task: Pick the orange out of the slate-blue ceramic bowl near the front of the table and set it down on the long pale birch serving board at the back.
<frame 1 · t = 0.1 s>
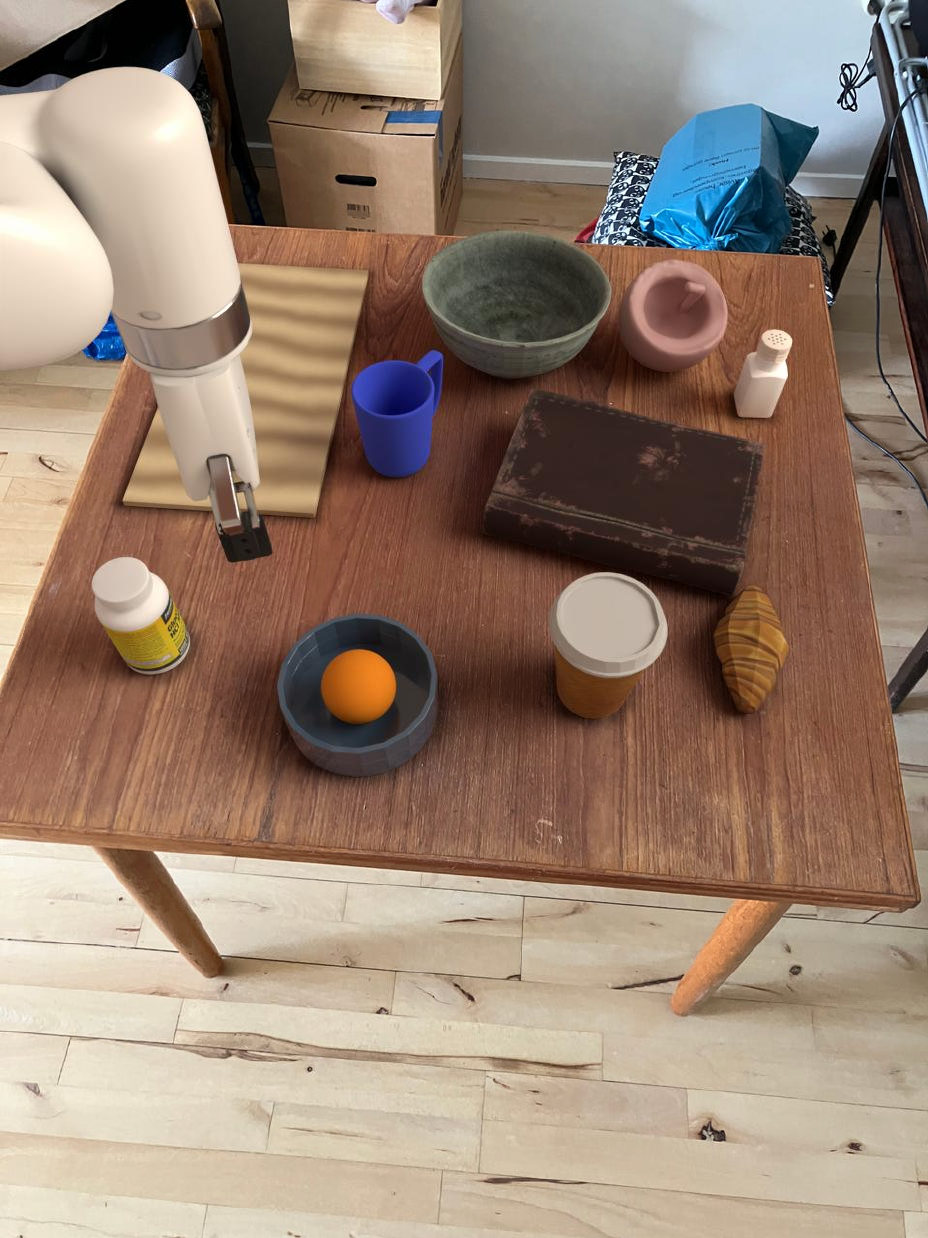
hand: (243, 505, 66), 20 cm above the table, tool pointing down, fingers open, 9 cm apart
diary: (621, 504, 92), on the table
croissant: (744, 655, 82), on the table
mug: (408, 448, 96), on the table
salt shaker: (751, 408, 100), on the table
bowl: (511, 354, 104), on the table
serving board: (259, 378, 102), on the table
disposable coffee cup: (591, 688, 80), on the table
mortar and pestle: (661, 359, 104), on the table
fruit bowl: (362, 706, 79), on the table
orange: (358, 686, 75), point 4 cm above the table, touching fruit bowl
pill bottle: (158, 649, 82), on the table
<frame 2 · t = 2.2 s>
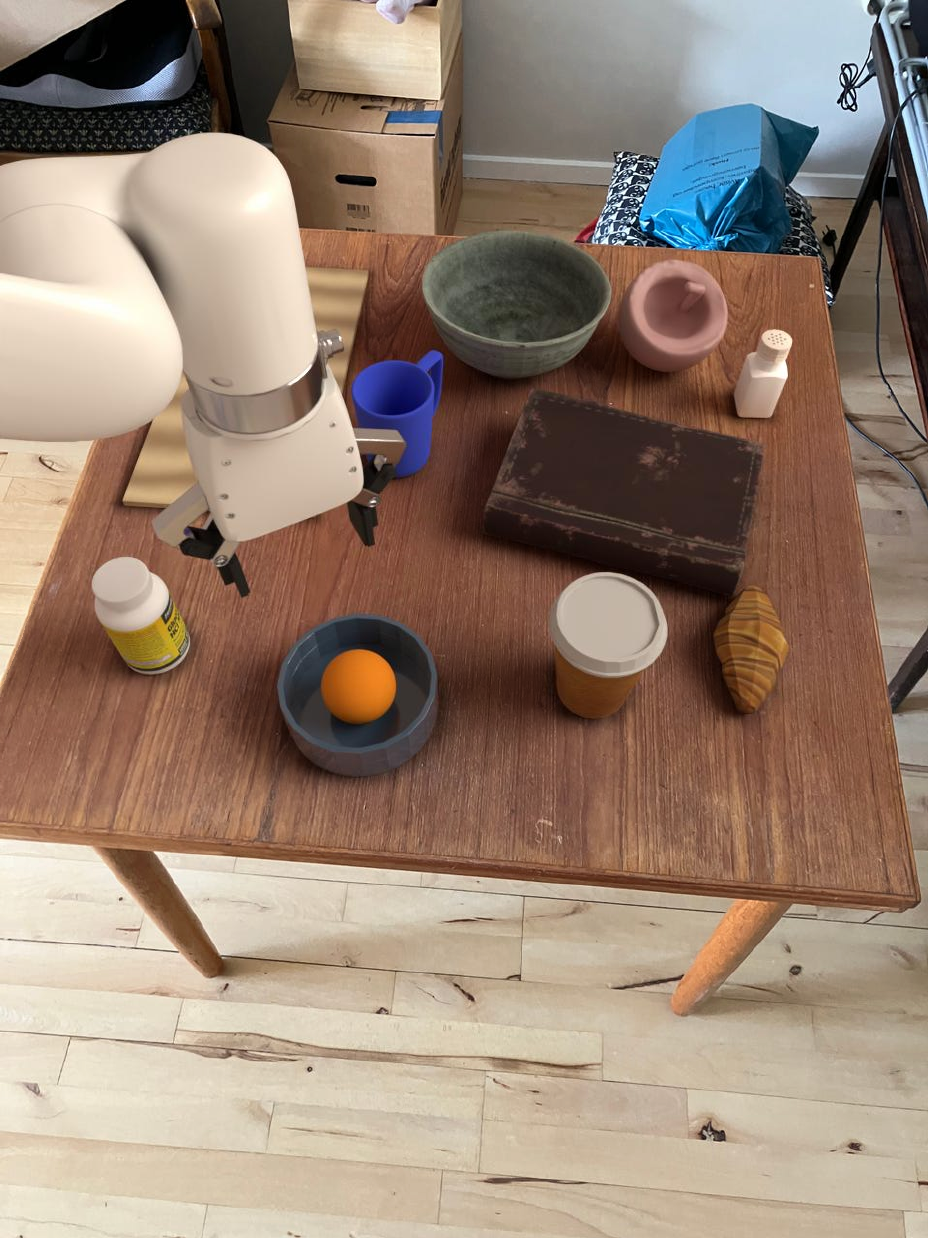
hand: (302, 556, 64), 19 cm above the table, tool pointing down, fingers open, 9 cm apart
nothing on the table moved.
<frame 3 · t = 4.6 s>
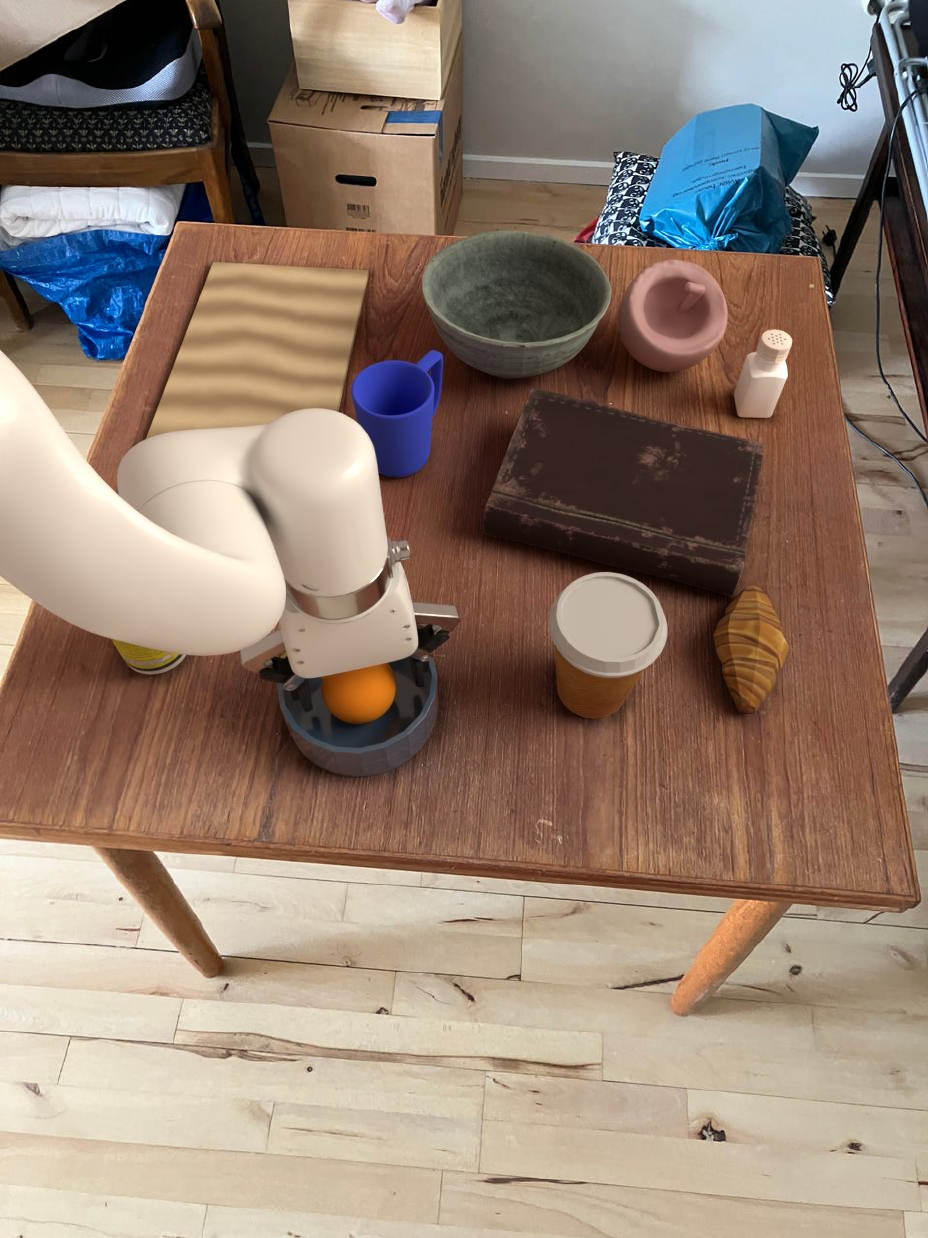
hand: (362, 684, 75), 4 cm above the table, tool pointing down, fingers open, 9 cm apart
nothing on the table moved.
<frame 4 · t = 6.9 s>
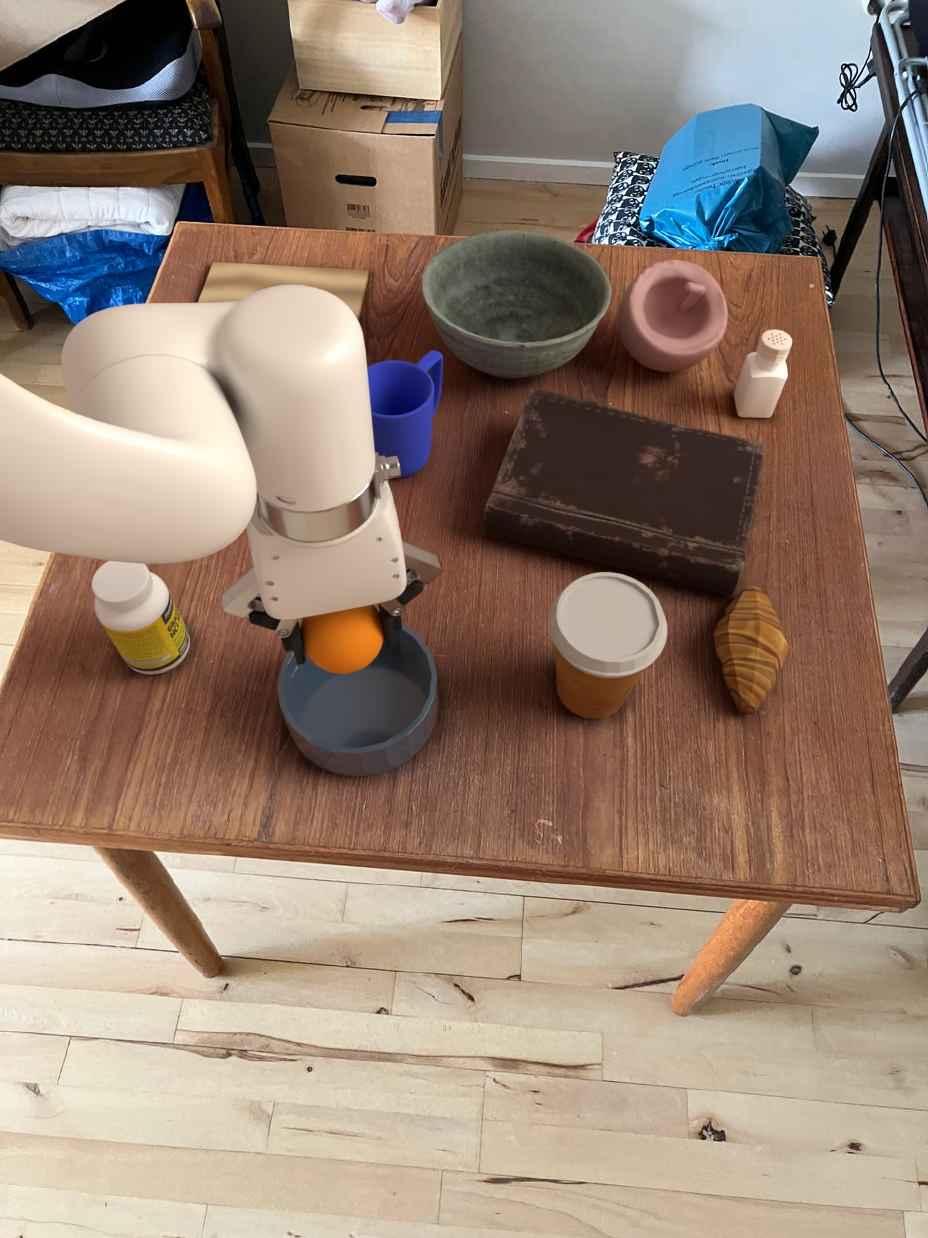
hand: (343, 639, 69), 12 cm above the table, tool pointing down, fingers closed on orange, 6 cm apart
orange: (342, 632, 68), point 13 cm above the table, tilted 9°, touching gripper
everything else where it was.
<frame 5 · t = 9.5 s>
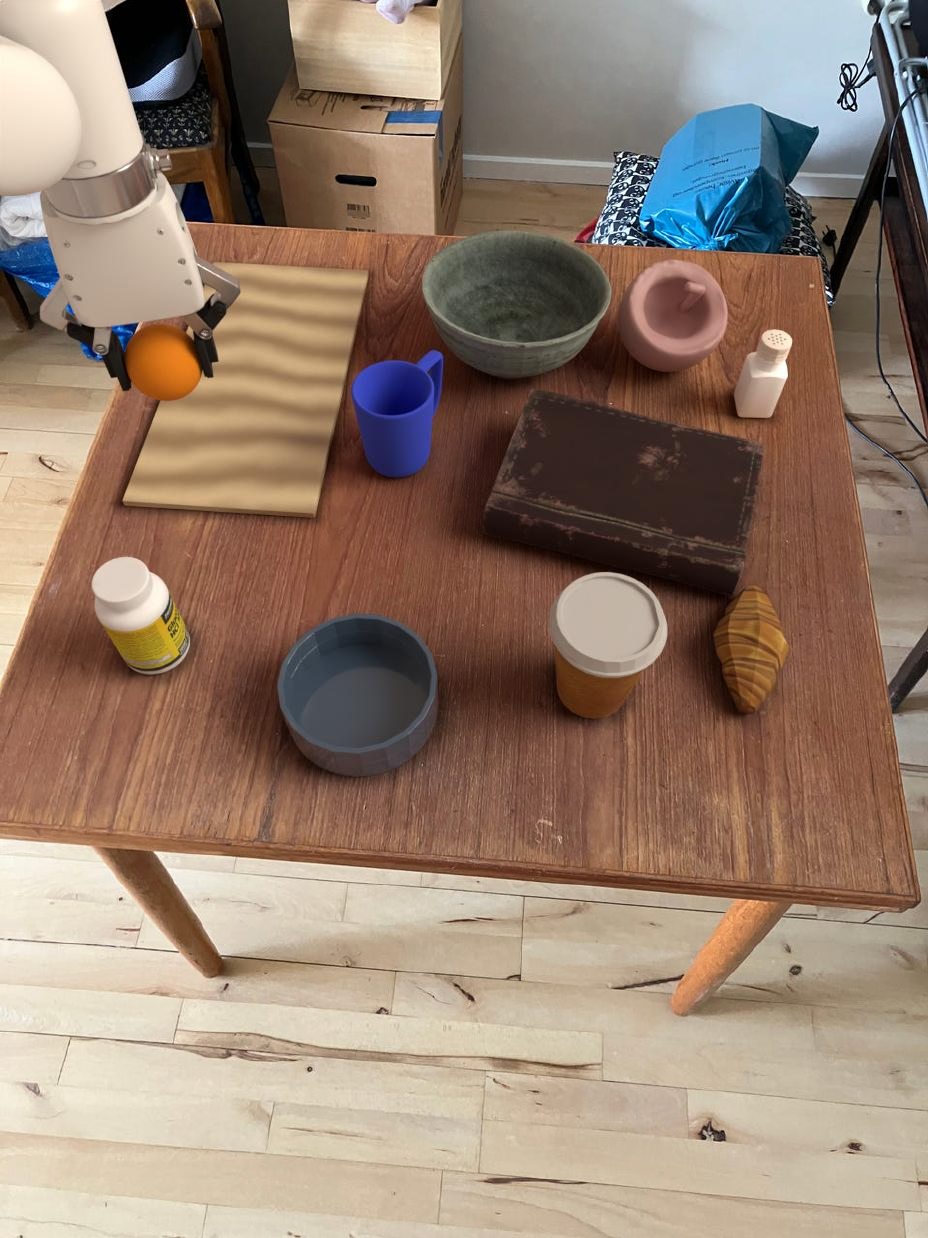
hand: (167, 372, 77), 18 cm above the table, tool pointing down, fingers closed on orange, 6 cm apart
orange: (164, 362, 76), point 19 cm above the table, tilted 9°, touching gripper
everything else where it was.
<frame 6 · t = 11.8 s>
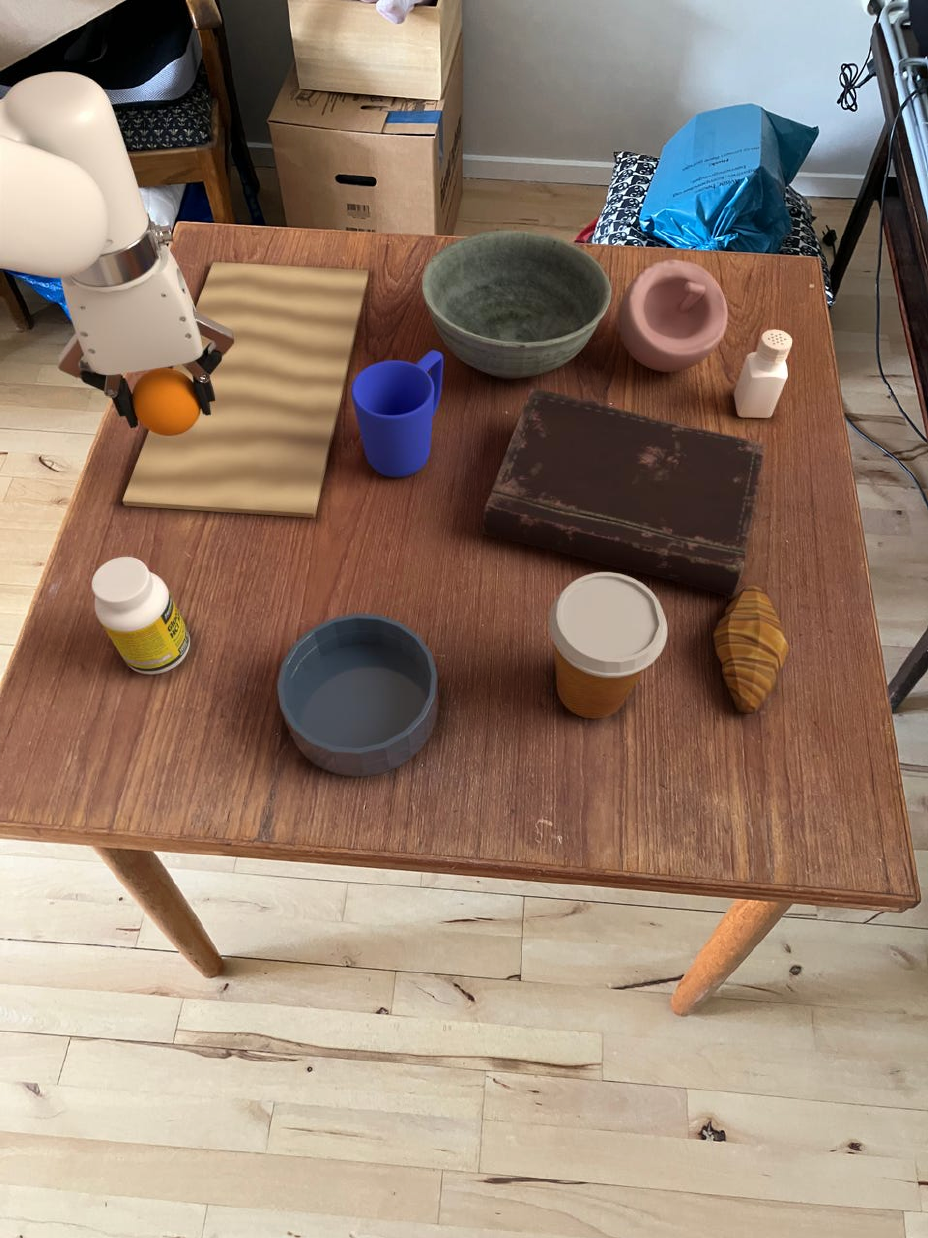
hand: (170, 410, 86), 9 cm above the table, tool pointing down, fingers closed on orange, 6 cm apart
orange: (166, 402, 85), point 10 cm above the table, tilted 8°, touching gripper
everything else where it was.
when the fingers open (3 cm above the table, at t = 13.7 s): orange stays where it is, resting on serving board.
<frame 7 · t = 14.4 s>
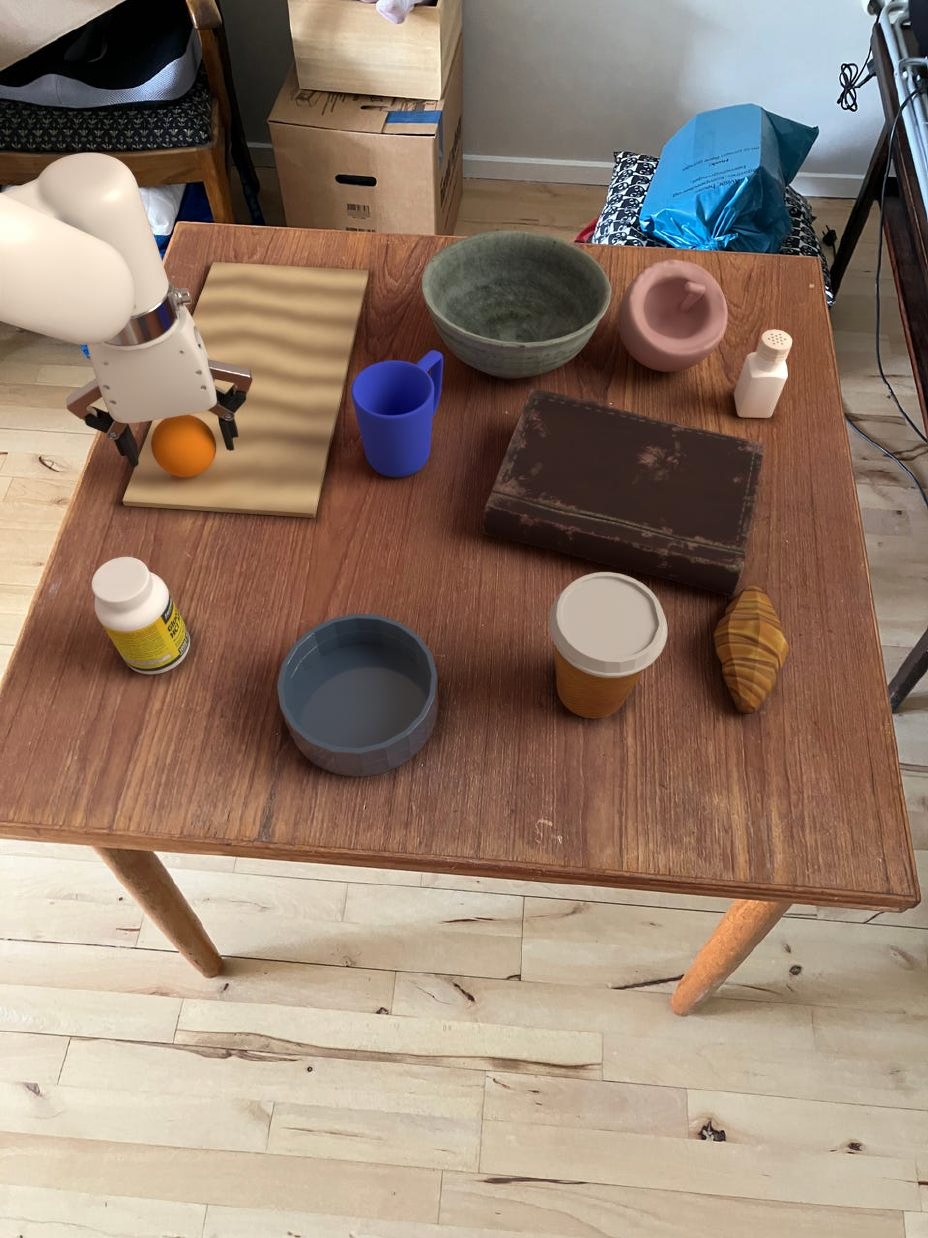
hand: (182, 449, 90), 4 cm above the table, tool pointing down, fingers open, 9 cm apart
orange: (184, 445, 90), point 4 cm above the table, tilted 11°, touching serving board
everything else where it was.
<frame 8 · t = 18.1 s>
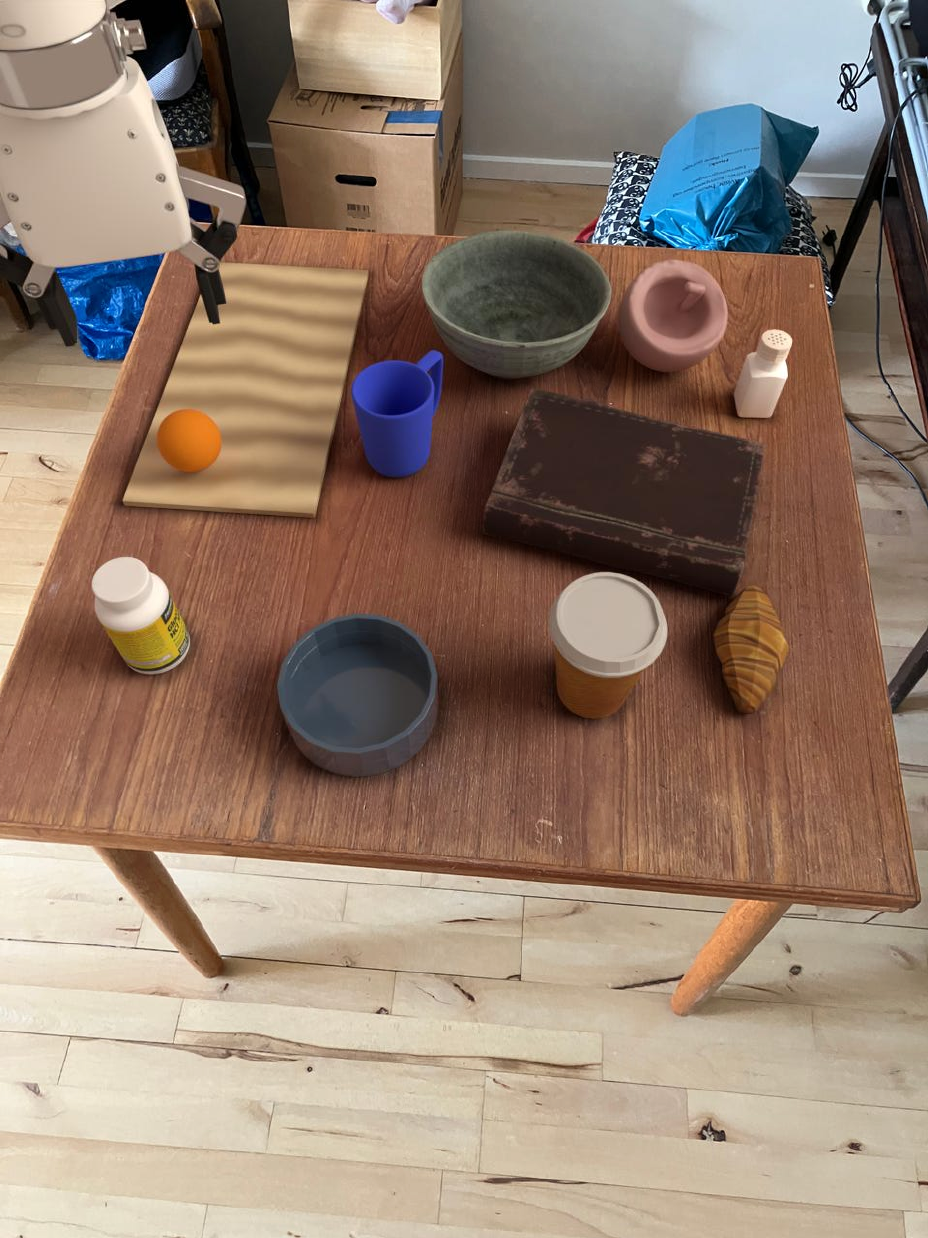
hand: (143, 322, 61), 30 cm above the table, tool pointing down, fingers open, 9 cm apart
orange: (189, 440, 91), point 4 cm above the table, tilted 25°, touching serving board
everything else where it was.
at the end: orange inside the target area on the serving board (1.1 cm from its centre), point 4.0 cm above the serving board's base; orange touching serving board; the gripper is holding nothing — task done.
